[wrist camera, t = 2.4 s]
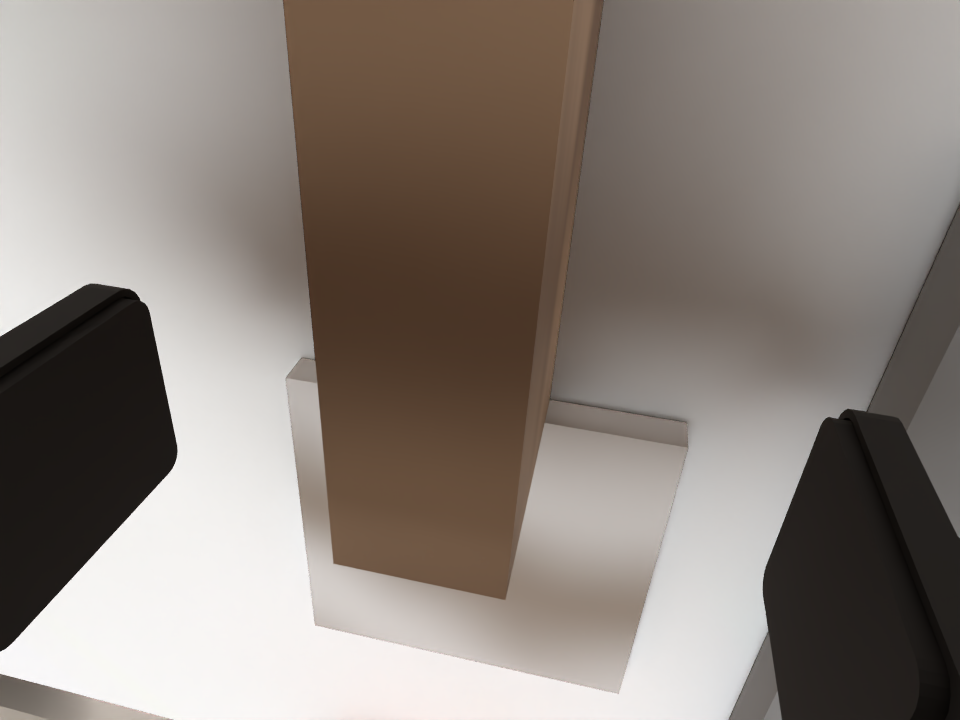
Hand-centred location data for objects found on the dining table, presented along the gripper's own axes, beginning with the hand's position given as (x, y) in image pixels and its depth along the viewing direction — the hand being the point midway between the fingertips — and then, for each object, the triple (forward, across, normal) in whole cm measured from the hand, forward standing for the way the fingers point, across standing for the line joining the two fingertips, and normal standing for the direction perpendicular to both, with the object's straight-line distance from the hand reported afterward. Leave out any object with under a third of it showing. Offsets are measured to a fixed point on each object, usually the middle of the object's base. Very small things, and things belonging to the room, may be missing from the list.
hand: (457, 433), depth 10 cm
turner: (+4, 0, +1) cm, 4 cm away
